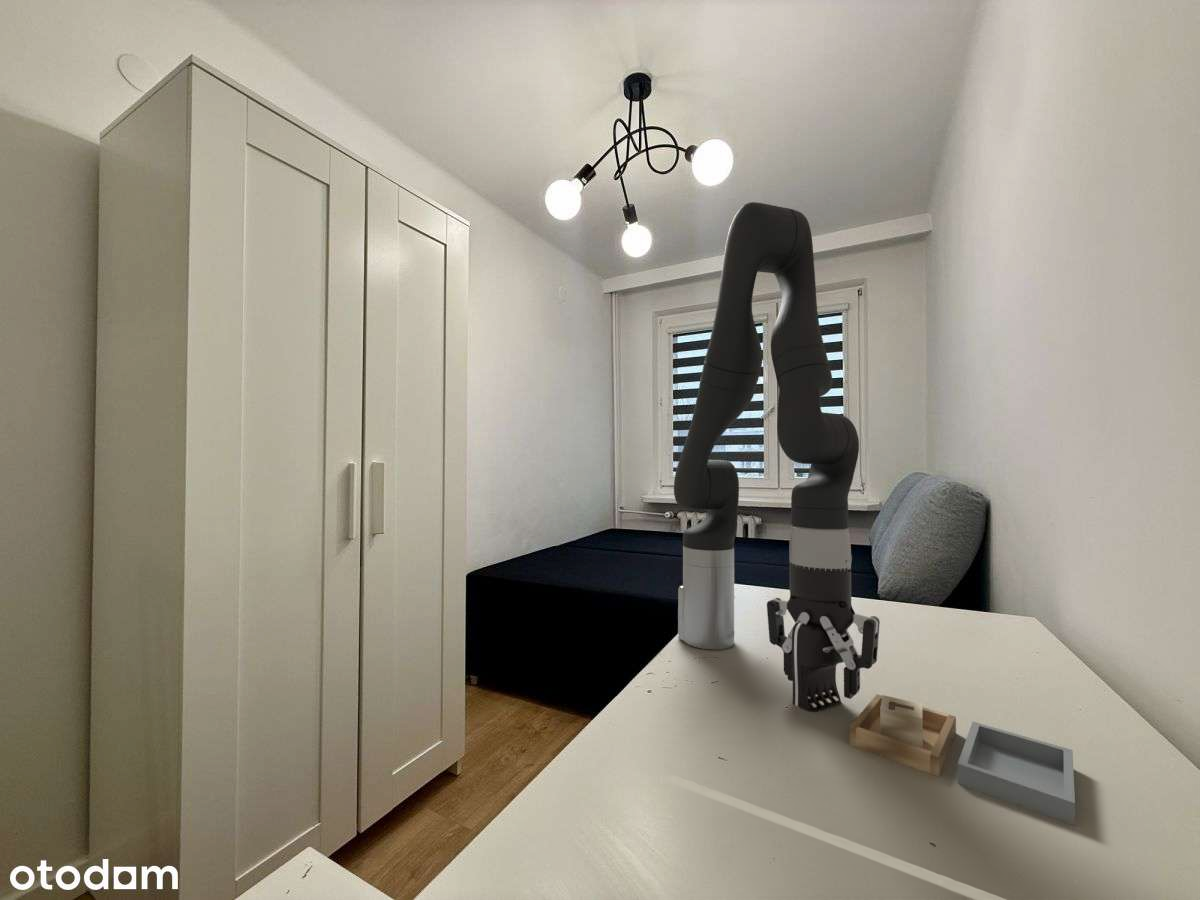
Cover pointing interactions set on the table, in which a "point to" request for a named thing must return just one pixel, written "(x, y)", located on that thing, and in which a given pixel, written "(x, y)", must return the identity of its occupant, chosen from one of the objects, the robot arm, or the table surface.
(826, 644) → the black battery charger
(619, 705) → the table surface
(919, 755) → the oak tray
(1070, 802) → the slate tray
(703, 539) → the robot arm
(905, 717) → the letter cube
